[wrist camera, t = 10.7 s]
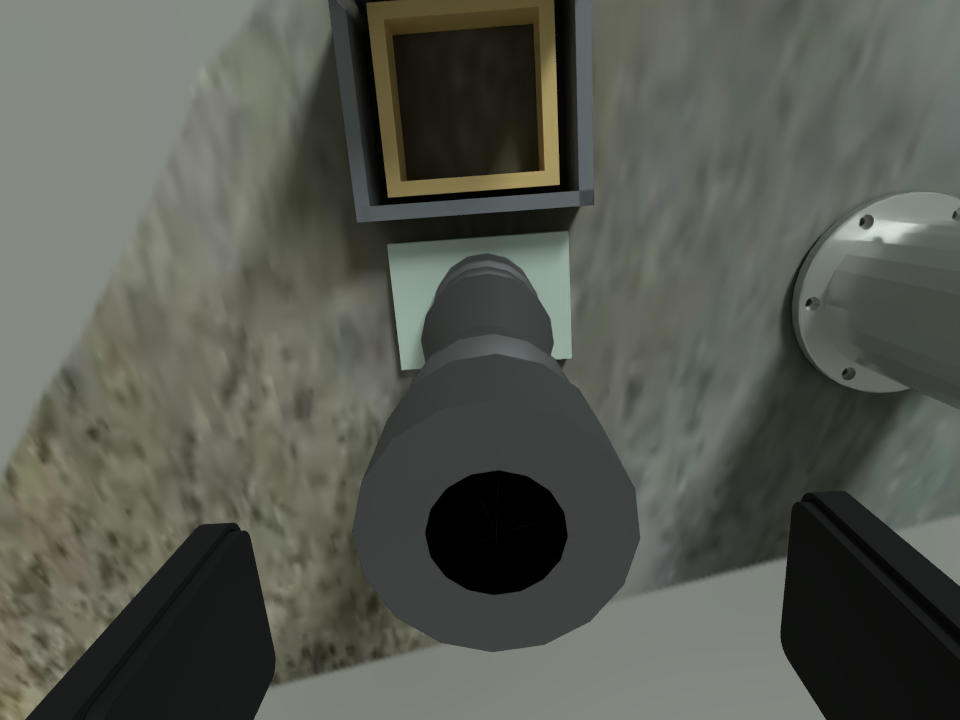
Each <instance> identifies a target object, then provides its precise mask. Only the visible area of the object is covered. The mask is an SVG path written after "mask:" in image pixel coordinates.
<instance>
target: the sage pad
mask: <svg viewBox="0 0 960 720" xmlns="http://www.w3.org/2000/svg"><path fill="white" fill-rule="evenodd" d="M387 248H388V257H389V266H390V274H391V283H392V291H393V300H394V309H395V317H396V326H397V334H398V343H399V352H400V360H401V369H402V370H411V369H421V368H422V367H423V365H424V364H425V358H424V353H423V349H422V344H421V336H422V332H423V327H424V322H425V317H426V314H427V312H428V310H429V309H430V308H431V306H432V305H433V303H434V299H435V294H436V291H437V288H438V286H439V284H440V282H441V281H442V279H443V278H444V277H445V275H446V274H447V272H448V271H449V269H450V268H451V267H452V266H454V265H455V264H457V263H458V262H460V261H461V260H463V259H465V258H466V257H468V256H474V255H479V254H485V253H488V254H493V255H497V256H502V257H506V258H508V259H509V260H510V261H512V262H513V263H515V264H516V265H517V266H519V267H520V268H521V269H522V270H523V271H524V273H525V274H526V276H527V278H528V279H529V281H530V283H531V284H532V286H533V288H534V289H535V291H536V293H537V295H538V299H539V300H540V302H541V304H542V305H543V307H544V308H545V310H546V312H547V313H548V315H549V317H550V319H551V326H552V333H553V340H554V345H553V349H552V353H551V356H552V357H554V358H555V360H556V359H570V358H572V348H571V311H570V275H569V239H568V231H566V230H564V231H550V232H536V233H523V234H509V235H496V236H482V237H469V238H455V239H441V240H428V241H414V242H401V243H389V244H387Z"/></svg>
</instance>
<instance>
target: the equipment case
mask: <svg viewBox="0 0 960 720" xmlns="http://www.w3.org/2000/svg"><path fill="white" fill-rule="evenodd" d="M328 2H329V10H330V18H331V25H332V33H333V41H334V49H335V56H336V64H337V72H338V80H339V87H340V95H341V103H342V110H343V118H344V126H345V134H346V141H347V149H348V157H349V164H350V172H351V180H352V188H353V195H354V203H355V211H356V219H357V223H359V222H373V221H386V220H399V219H413V218H426V217H440V216H453V215H467V214H480V213H493V212H507V211H520V210H534V209H547V208H561V207H574V206H587V205H594V155H593V87H592V19H591V0H563V24H564V61H565V98H566V135H567V172H568V192H555V193H541V194H528V195H515V196H501V197H488V198H475V199H461V200H448V201H435V202H421V203H408V204H395V205H382V201H381V193H380V184H379V176H378V167H377V158H376V150H375V141H374V133H373V124H372V115H371V107H370V98H369V90H368V81H367V72H366V64H365V55H364V47H363V38H362V33H365V32H367V31H368V29H369V33H370V42H371V51H372V59H373V68H374V77H375V86H376V95H377V104H378V113H379V121H380V130H381V139H382V148H383V157H384V166H385V174H386V183H387V192H388V198H397V197H410V196H423V195H437V194H450V193H463V192H477V191H490V190H503V189H516V188H530V187H543V186H555V185H560V176H559V144H558V111H557V79H556V47H555V15H554V0H328ZM364 13H367V15H368V21H367V20H366V18H365V17H364V15H363V14H364ZM526 24H533V30H534V54H535V79H536V104H537V129H538V153H539V171H534V172H520V173H507V174H494V175H481V176H468V177H455V178H441V179H428V180H415V181H407V174H406V164H405V154H404V145H403V135H402V125H401V115H400V106H399V96H398V86H397V77H396V67H395V57H394V48H393V38H392V35H402V34H415V33H427V32H439V31H452V30H464V29H476V28H489V27H501V26H513V25H526Z"/></svg>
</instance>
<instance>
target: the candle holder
mask: <svg viewBox="0 0 960 720" xmlns="http://www.w3.org/2000/svg"><path fill="white" fill-rule="evenodd" d="M421 344H422V349H423V353H424V358H425V364H424V365H423V367H422V368H421V370H420V371H419V373H418V374H417V375H416V377H415V378H414V380H413V381H412V383H411V386H410V389H409V390H408V392H407V393H406V395H405V396H404V397H403V399H402V400H401V402H400V403H399V404H398V406H397V407H396V409H395V410H394V411H393V413H392V414H391V416H390V417H389V419H388V420H387V422H386V425H385V427H384V430H383V432H382V434H381V437H380V439H379V442H378V444H377V446H376V449H375V451H374V454H373V456H372V458H371V461H370V463H369V466H368V468H367V470H366V473H365V475H364V478H363V480H362V482H361V488H360V493H359V499H358V504H357V510H356V515H355V520H354V526H353V531H352V532H353V536H354V539H355V543H356V547H357V550H358V554H359V558H360V562H361V565H362V569H363V573H364V576H365V579H366V580H367V582H368V583H369V584H370V585H371V587H372V588H373V589H374V590H375V592H376V593H377V594H378V595H379V597H380V598H381V599H382V600H383V601H384V603H385V604H386V605H387V606H388V608H389V609H390V610H391V611H392V613H393V614H394V615H395V616H396V617H397V618H398V619H400V620H402V621H404V622H405V623H407V624H409V625H411V626H412V627H414V628H416V629H418V630H419V631H421V632H423V633H425V634H426V635H428V636H430V637H432V638H433V639H435V640H437V641H439V642H440V643H445V644H451V645H456V646H462V647H468V648H473V649H479V650H484V651H489V652H496V651H504V650H511V649H518V648H525V647H532V646H539V645H545V644H547V643H548V642H550V641H553V640H555V639H556V638H558V637H560V636H562V635H564V634H566V633H568V632H570V631H572V630H574V629H576V628H578V627H580V626H582V625H584V624H586V623H588V622H590V621H591V620H592V619H593V618H594V616H596V614H597V613H598V612H599V611H600V610H601V609H602V608H603V607H604V606H605V605H606V604H607V602H608V601H609V600H610V599H611V598H612V597H613V596H614V595H615V594H616V593H617V592H618V590H619V589H620V588H621V587H622V586H623V585H624V583H625V580H626V577H627V574H628V571H629V569H630V566H631V563H632V560H633V557H634V554H635V551H636V549H637V546H638V543H639V540H640V532H639V523H638V513H637V504H636V495H635V488H634V486H633V484H632V482H631V480H630V478H629V477H628V475H627V473H626V471H625V469H624V467H623V465H622V463H621V461H620V460H619V458H618V456H617V454H616V452H615V450H614V448H613V446H612V444H611V443H610V441H609V439H608V437H607V435H606V433H605V431H604V429H603V427H602V425H601V424H600V422H599V421H598V419H597V417H596V416H595V414H594V412H593V411H592V409H591V408H590V406H589V404H588V403H587V401H586V399H585V398H584V396H583V395H582V393H581V391H580V390H579V389H578V388H577V387H576V386H574V385H573V384H571V383H570V382H569V381H568V379H567V377H566V376H565V374H564V373H563V371H562V369H561V368H560V366H559V364H558V363H557V361H556V360H555V358H554V357H552V356H551V353H552V349H553V345H554V340H553V333H552V326H551V319H550V317H549V315H548V313H547V312H546V310H545V308H544V307H543V305H542V304H541V302H540V300H539V299H538V295H537V293H536V291H535V289H534V288H533V286H532V284H531V283H530V281H529V279H528V278H527V276H526V274H525V273H524V271H523V270H522V269H521V268H520V267H519V266H517V265H516V264H515V263H513V262H512V261H510V260H509V259H508V258H506V257H502V256H497V255H493V254H488V253H485V254H479V255H474V256H468V257H466V258H465V259H463V260H461V261H460V262H458V263H457V264H455V265H454V266H452V267H451V268H450V269H449V271H448V272H447V274H446V275H445V277H444V278H443V279H442V281H441V282H440V284H439V286H438V288H437V291H436V294H435V299H434V303H433V305H432V306H431V308H430V309H429V310H428V312H427V314H426V317H425V322H424V327H423V332H422V336H421Z"/></svg>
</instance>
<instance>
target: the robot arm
mask: <svg viewBox="0 0 960 720" xmlns="http://www.w3.org/2000/svg"><path fill="white" fill-rule="evenodd" d="M859 221H860V223H859ZM807 300H808V302H807V304H806V301H807ZM805 304H806V305H805ZM792 321H793V327H794V331H795V335H796V338H797V342H798V343H799V345H800V347H801V349H802V351H803V353H804V355H805V356H806V358H807V359H808V360H809V361H810V362H811V363H812V364H813V366H814V367H815V368H816V369H817V370H819V371H820V372H822V373H823V374H824V375H826V376H827V377H828V378H830V379H832V380H834V381H836V382H838V383H840V384H842V385H844V386H847V387H850V388H853V389H856V390H859V391H865V392H873V393H888V392H899V391H903V390H907V389H914V390H916V391H918V392H920V393H923V394H925V395H927V396H929V397H932V398H934V399H936V400H938V401H941V402H943V403H945V404H947V405H950V406H952V407H954V408H956V409H959V410H960V199H958V198H956V197H953V196H949V195H944V194H940V193H936V192H907V193H895V194H891V195H887V196H884V197H880V198H876V199H874V200H871V201H869V202H867V203H865V204H863V205H861V206H858V207H856V208H855V209H853V210H852V211H850V212H849V213H847V214H846V215H845V216H843V217H842V218H840V219H839V220H837V221H836V222H835V223H834V224H833V225H832V226H831V227H830V228H829V229H828V230H827V231H826V232H825V233H824V234H823V235H822V236H821V237H820V239H819V240H818V241H817V243H816V244H815V245H814V247H813V248H812V249H811V250H810V252H809V254H808V256H807V258H806V260H805V261H804V263H803V265H802V267H801V269H800V272H799V275H798V278H797V281H796V284H795V287H794V293H793V300H792ZM781 643H782V647H783V650H784V653H785V655H786V657H787V659H788V660H789V662H790V664H791V665H792V667H793V668H794V670H795V671H796V673H797V675H798V676H799V678H800V679H801V681H802V682H803V684H804V685H805V687H806V689H807V690H808V692H809V693H810V695H811V696H812V698H813V699H814V701H815V703H816V704H817V706H818V707H819V709H820V711H821V712H822V714H823V715H824V717H825V718H826V720H960V586H959V585H958V584H956V583H955V582H954V581H953V580H952V579H950V578H949V577H948V576H947V575H946V574H944V573H943V572H942V571H941V570H940V569H938V568H937V567H936V566H935V565H934V564H932V563H931V562H930V561H929V560H928V559H926V558H925V557H924V556H923V555H922V554H920V553H919V552H918V551H917V550H915V549H914V548H913V547H912V546H911V545H910V544H908V543H907V542H906V541H905V540H903V539H902V538H901V537H900V536H899V535H898V534H896V533H895V532H894V531H893V530H892V529H890V528H889V527H888V526H887V525H886V524H884V523H883V522H882V521H881V520H880V519H878V518H877V517H876V516H875V515H874V514H872V513H871V512H870V511H869V510H868V509H866V508H865V507H864V506H863V505H862V504H860V503H859V502H858V501H857V500H856V499H854V498H853V497H852V496H851V495H850V494H848V493H846V492H845V491H832V492H813V493H806V494H805V495H804V496H803V498H802V500H801V502H796V503H795V504H794V505H793V507H792V513H791V524H790V535H789V546H788V556H787V567H786V579H785V590H784V600H783V610H782V621H781ZM275 661H276V658H275V651H274V646H273V642H272V637H271V632H270V628H269V623H268V618H267V613H266V609H265V604H264V599H263V595H262V590H261V585H260V580H259V576H258V571H257V566H256V562H255V557H254V552H253V548H252V543H251V538H250V535H249V534H248V532H247V531H241V530H240V528H239V526H238V525H237V524H235V523H220V524H203V525H200V526H199V527H197V528H196V529H195V530H194V531H193V532H192V534H191V535H190V536H189V537H188V538H187V539H186V540H185V541H184V543H183V544H182V545H181V546H180V547H179V548H178V549H177V550H176V552H175V553H174V554H173V555H172V556H171V557H170V558H169V559H168V560H167V562H166V563H165V564H164V565H163V566H162V567H161V568H160V569H159V571H158V572H157V573H156V574H155V575H154V576H153V577H152V578H151V579H150V581H149V582H148V583H147V584H146V585H145V586H144V587H143V588H142V590H141V591H140V592H139V593H138V594H137V595H136V596H135V597H134V598H133V600H132V601H131V602H130V603H129V604H128V605H127V606H126V607H125V609H124V610H123V611H122V612H121V613H120V614H119V615H118V616H117V617H116V619H115V620H114V621H113V622H112V623H111V624H110V625H109V626H108V628H107V629H106V630H105V631H104V632H103V633H102V634H101V635H100V636H99V638H98V639H97V640H96V641H95V642H94V643H93V644H92V645H91V647H90V648H89V649H88V650H87V651H86V652H85V653H84V654H83V655H82V657H81V658H80V659H79V660H78V661H77V662H76V663H75V664H74V666H73V667H72V668H71V669H70V670H69V671H68V672H67V673H66V674H65V676H64V677H63V678H62V679H61V680H60V681H59V682H58V683H57V685H56V686H55V687H54V688H53V689H52V690H51V691H50V692H49V693H48V695H47V696H46V697H45V698H44V699H43V700H42V701H41V702H40V704H39V705H38V706H37V707H36V708H35V709H34V710H33V711H32V713H31V714H30V715H29V716H28V717H27V718H26V719H25V720H254V718H255V715H256V713H257V711H258V709H259V707H260V704H261V702H262V700H263V698H264V696H265V694H266V691H267V689H268V687H269V685H270V683H271V680H272V678H273V675H274V671H275Z"/></svg>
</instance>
